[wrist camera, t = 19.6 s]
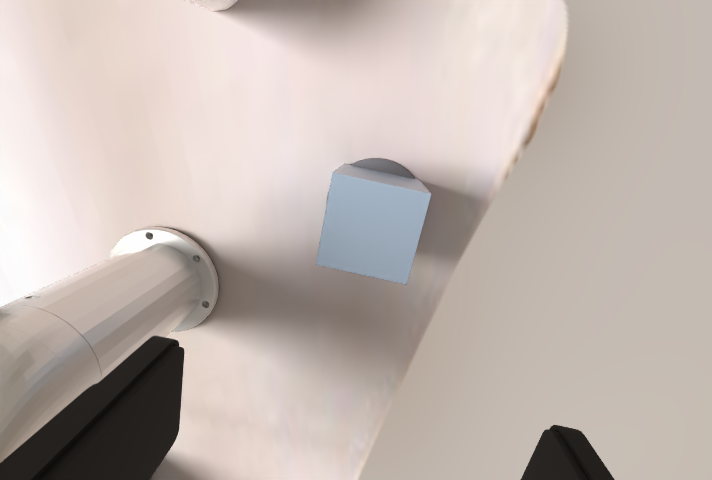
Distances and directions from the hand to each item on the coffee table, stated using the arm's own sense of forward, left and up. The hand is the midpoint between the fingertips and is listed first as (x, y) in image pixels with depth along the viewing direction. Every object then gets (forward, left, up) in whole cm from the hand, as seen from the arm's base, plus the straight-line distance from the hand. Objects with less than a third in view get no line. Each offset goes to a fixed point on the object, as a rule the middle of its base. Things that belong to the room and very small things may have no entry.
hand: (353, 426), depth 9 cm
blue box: (0, 0, -28) cm, 28 cm away
